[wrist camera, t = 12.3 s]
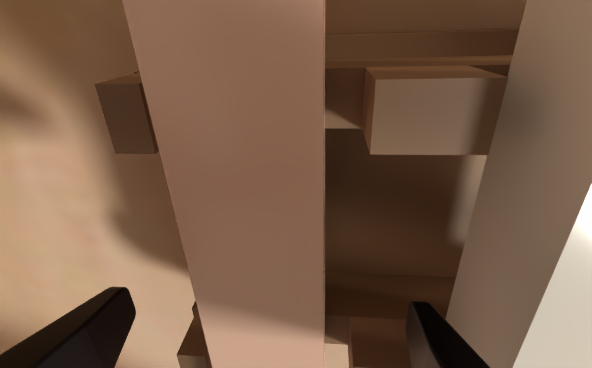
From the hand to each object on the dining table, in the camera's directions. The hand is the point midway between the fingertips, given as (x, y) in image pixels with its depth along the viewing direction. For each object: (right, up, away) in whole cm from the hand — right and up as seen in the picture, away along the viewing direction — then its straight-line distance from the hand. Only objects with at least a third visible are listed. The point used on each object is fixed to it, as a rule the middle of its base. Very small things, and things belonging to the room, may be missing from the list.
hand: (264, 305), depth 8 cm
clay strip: (0, +1, +3) cm, 3 cm away
